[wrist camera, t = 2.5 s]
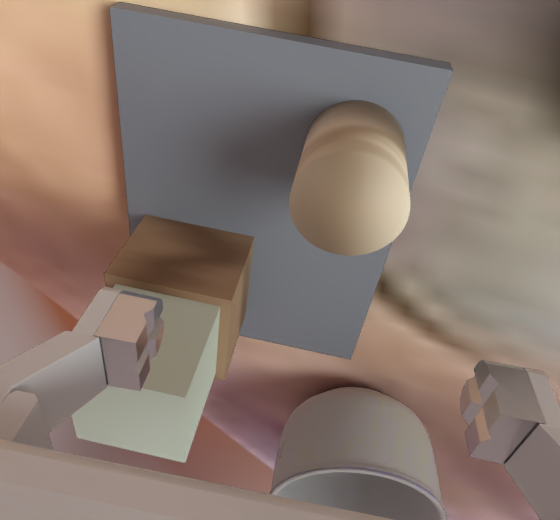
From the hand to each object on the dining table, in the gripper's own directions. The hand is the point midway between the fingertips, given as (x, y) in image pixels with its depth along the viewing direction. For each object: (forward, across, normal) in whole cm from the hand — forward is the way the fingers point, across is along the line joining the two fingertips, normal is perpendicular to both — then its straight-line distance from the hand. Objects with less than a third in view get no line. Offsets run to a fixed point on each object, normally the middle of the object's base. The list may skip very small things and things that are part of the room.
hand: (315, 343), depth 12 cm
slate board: (+13, +3, +5) cm, 14 cm away
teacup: (+13, -7, +22) cm, 26 cm away
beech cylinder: (+12, -1, 0) cm, 12 cm away
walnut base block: (+12, +6, +9) cm, 16 cm away
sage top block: (+7, +6, +9) cm, 13 cm away
